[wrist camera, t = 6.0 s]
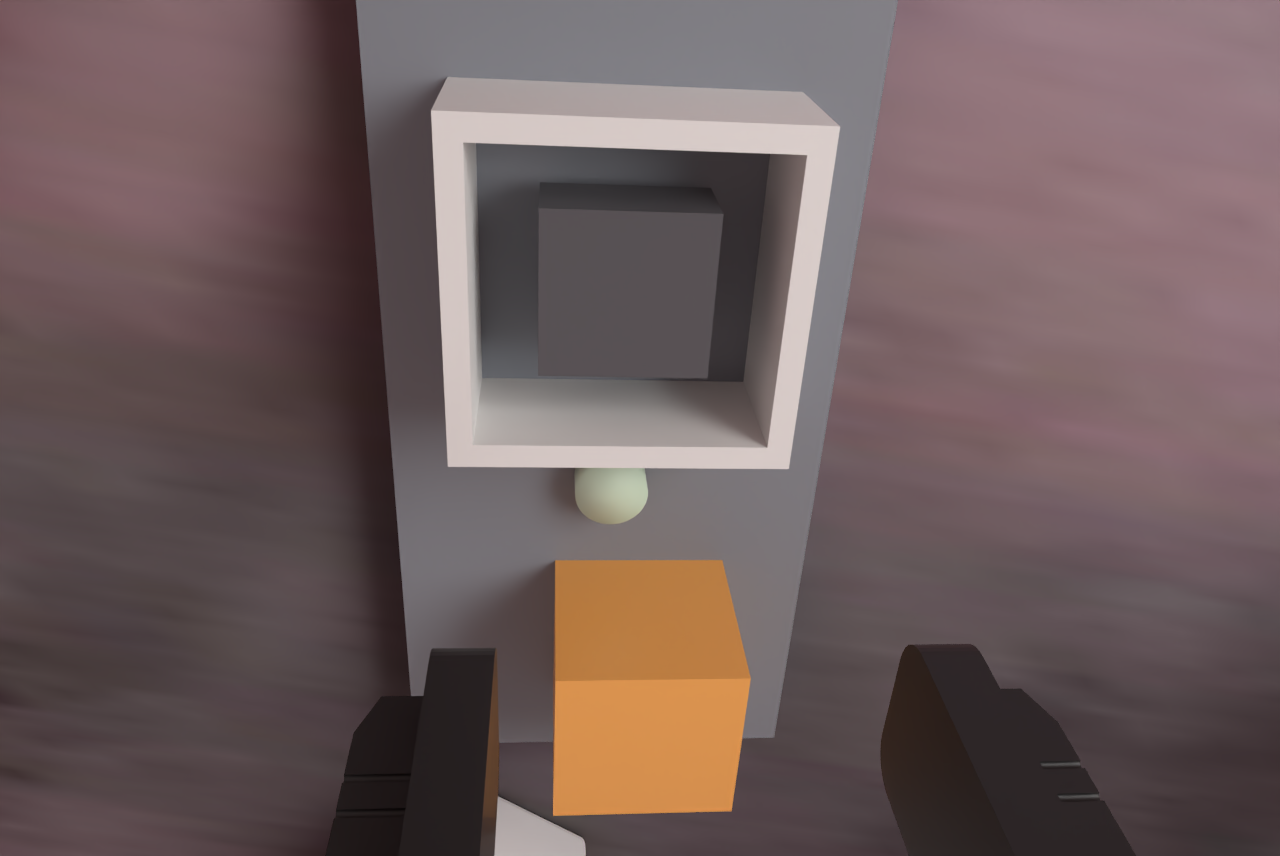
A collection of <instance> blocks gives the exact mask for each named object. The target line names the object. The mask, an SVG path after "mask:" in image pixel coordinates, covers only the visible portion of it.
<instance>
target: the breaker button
mask: <svg viewBox="0 0 1280 856" xmlns="http://www.w3.org/2000/svg"><path fill="white" fill-rule="evenodd" d="M722 225H723V212H722V210H721V208H720V206H719V204H718V202H717V199H716V197H715V195H714V193H713V191H712V189H711V188H698V187H668V186H637V185H607V184H577V183H547V182H540V191H539V260H538V376H579V377H645V378H707V377H708V367H709V357H710V347H711V337H712V326H713V316H714V306H715V296H716V286H717V275H718V265H719V255H720V245H721V235H722Z"/></svg>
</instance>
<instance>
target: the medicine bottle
mask: <svg viewBox="0 0 1280 856" xmlns="http://www.w3.org/2000/svg"><path fill="white" fill-rule="evenodd" d="M494 856H586V851H585V842H584V839H583V838H582V837H580V836H578V835H576V834H574V833H572V832H570V831H568V830H566V829H564V828H562V827H560V826H558V825H556V824H554V823H552V822H550V821H548V820H545V819H543V818H541V817H539V816H537V815H535V814H533V813H531V812H529V811H527V810H525V809H523V808H521V807H519V806H517V805H515V804H513V803H511V802H509V801H507V800H505V799H503V798H501V797H499V796H498V803H497V820H496V837H495V853H494Z"/></svg>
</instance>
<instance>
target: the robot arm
mask: <svg viewBox="0 0 1280 856" xmlns="http://www.w3.org/2000/svg"><path fill="white" fill-rule="evenodd" d="M881 769H882V776H883V782H884V786H885V790H886V793H887V796H888V799H889V801H890V804H891V807H892V810H893V813H894V815H895V818H896V821H897V824H898V827H899V829H900V832H901V835H902V838H903V841H904V843H905V846H906V849H907V852H908V855H909V856H1136V855H1135V853H1134V851H1133V850H1132V848H1131V846H1130V845H1129V843H1128V841H1127V839H1126V838H1125V836H1124V834H1123V833H1122V831H1121V829H1120V828H1119V826H1118V824H1117V822H1116V821H1115V819H1114V817H1113V816H1112V814H1111V812H1110V810H1109V809H1108V807H1107V805H1106V804H1105V802H1104V801H1100V799H1099V792H1098V790H1097V788H1096V787H1095V785H1094V783H1093V781H1092V780H1091V778H1090V776H1089V775H1088V773H1087V771H1086V770H1085V768H1081V766H1080V759H1079V758H1078V756H1077V754H1076V752H1075V751H1074V749H1073V747H1072V746H1071V744H1070V742H1069V741H1068V739H1067V737H1066V735H1065V734H1064V732H1063V730H1062V729H1061V727H1060V725H1059V723H1058V722H1057V721H1056V720H1055V719H1054V718H1053V717H1052V716H1050V715H1049V714H1048V713H1047V712H1046V711H1045V710H1044V709H1043V708H1042V707H1041V706H1039V705H1038V704H1037V703H1036V702H1035V701H1034V700H1033V699H1032V698H1031V697H1029V696H1028V695H1027V694H1026V693H1025V692H1024V691H1023V690H1022V689H1000V688H999V686H998V684H997V682H996V680H995V678H994V676H993V675H992V673H991V671H990V669H989V667H988V665H987V664H986V662H985V660H984V658H983V656H982V655H981V653H980V651H979V650H978V649H977V648H976V647H975V646H973V645H971V644H934V645H908V646H907V647H906V648H905V649H904V651H903V653H902V656H901V659H900V663H899V667H898V672H897V676H896V680H895V684H894V688H893V692H892V696H891V700H890V705H889V709H888V713H887V717H886V721H885V725H884V729H883V733H882V739H881ZM498 781H499V719H498V671H497V649H496V648H432V650H431V652H430V657H429V662H428V669H427V675H426V682H425V688H424V694H423V696H384V697H381V698H380V699H379V700H378V702H377V703H376V704H375V706H374V707H373V708H372V710H371V711H370V712H369V714H368V715H367V716H366V718H365V719H364V720H363V721H362V723H361V724H360V725H359V727H358V728H357V729H356V731H355V732H354V734H353V739H352V743H351V747H350V752H349V756H348V760H347V765H346V769H345V773H344V783H342V786H341V791H340V795H339V799H338V804H337V808H336V818H335V819H334V821H333V826H332V830H331V834H330V839H329V843H328V847H327V852H326V856H494V853H495V837H496V820H497V803H498Z"/></svg>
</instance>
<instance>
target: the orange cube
mask: <svg viewBox="0 0 1280 856" xmlns="http://www.w3.org/2000/svg"><path fill="white" fill-rule="evenodd" d="M750 681H751V677H750V673H749V669H748V665H747V660H746V656H745V652H744V648H743V644H742V640H741V636H740V631H739V627H738V623H737V619H736V615H735V611H734V607H733V603H732V598H731V594H730V590H729V586H728V582H727V578H726V574H725V569H724V565H723V561H722V560H555V604H554V668H553V816H560V815H599V814H638V813H677V812H716V811H732V804H733V797H734V790H735V784H736V777H737V770H738V763H739V756H740V749H741V743H742V736H743V729H744V722H745V715H746V708H747V702H748V695H749V688H750Z"/></svg>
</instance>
